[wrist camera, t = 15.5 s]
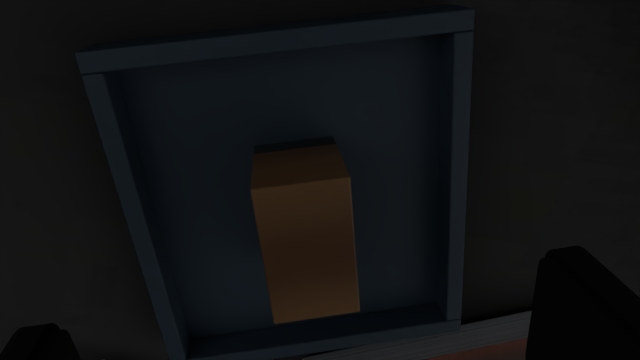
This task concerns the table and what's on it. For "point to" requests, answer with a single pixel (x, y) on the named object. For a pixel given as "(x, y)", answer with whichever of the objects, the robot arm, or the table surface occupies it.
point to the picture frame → (450, 343)
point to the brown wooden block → (305, 229)
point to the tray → (285, 126)
